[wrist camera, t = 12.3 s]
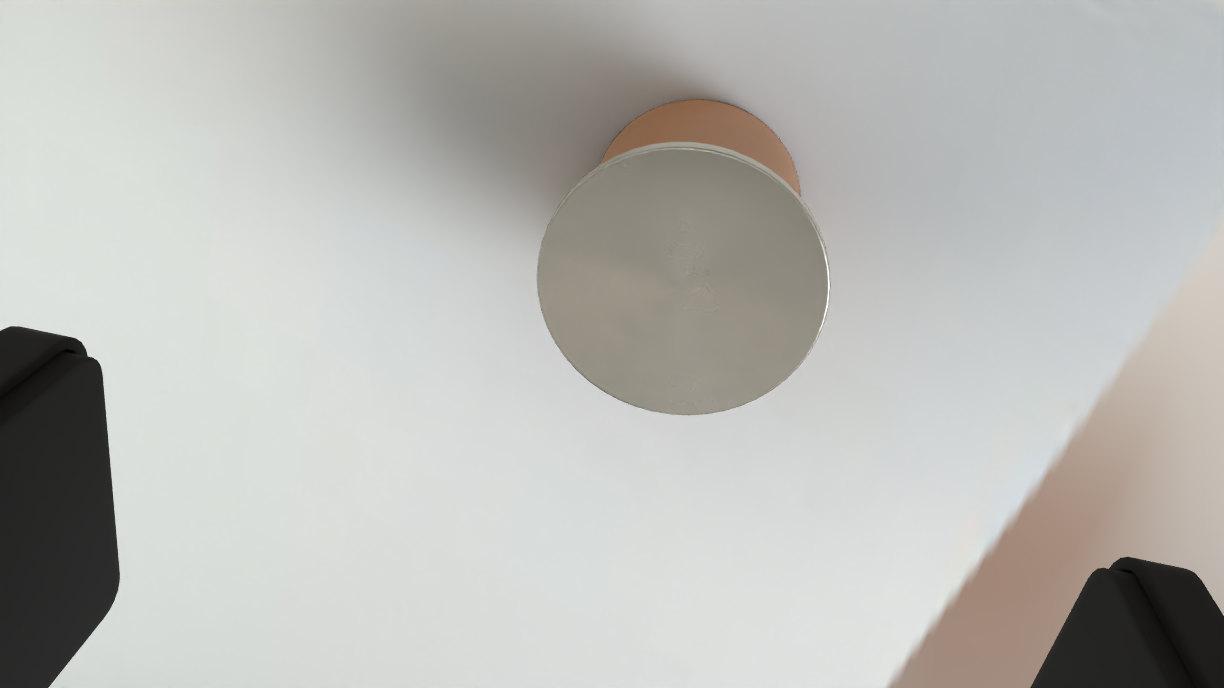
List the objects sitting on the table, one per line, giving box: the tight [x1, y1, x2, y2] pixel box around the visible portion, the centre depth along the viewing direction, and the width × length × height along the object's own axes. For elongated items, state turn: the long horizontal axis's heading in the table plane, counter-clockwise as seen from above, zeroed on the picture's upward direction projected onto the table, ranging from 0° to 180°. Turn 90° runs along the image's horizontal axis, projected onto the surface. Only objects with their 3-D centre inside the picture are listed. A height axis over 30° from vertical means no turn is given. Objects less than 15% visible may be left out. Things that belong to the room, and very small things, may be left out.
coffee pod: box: [537, 100, 831, 415], centre depth 17 cm, size 4×4×4 cm
